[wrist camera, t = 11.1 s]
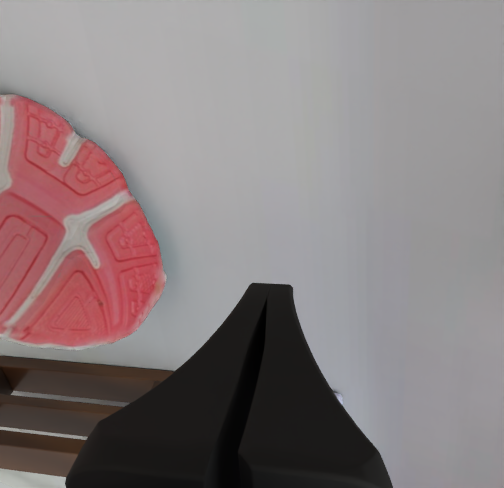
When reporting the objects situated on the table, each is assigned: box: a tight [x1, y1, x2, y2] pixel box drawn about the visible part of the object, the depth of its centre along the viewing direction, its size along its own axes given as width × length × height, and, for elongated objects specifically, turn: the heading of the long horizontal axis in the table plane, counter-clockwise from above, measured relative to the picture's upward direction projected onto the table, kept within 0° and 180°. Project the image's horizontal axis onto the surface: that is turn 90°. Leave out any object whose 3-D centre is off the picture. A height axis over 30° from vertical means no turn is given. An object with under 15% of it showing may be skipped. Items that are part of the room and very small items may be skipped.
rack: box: [0, 356, 174, 477], centre depth 29 cm, size 3×15×7 cm, turn 92°
